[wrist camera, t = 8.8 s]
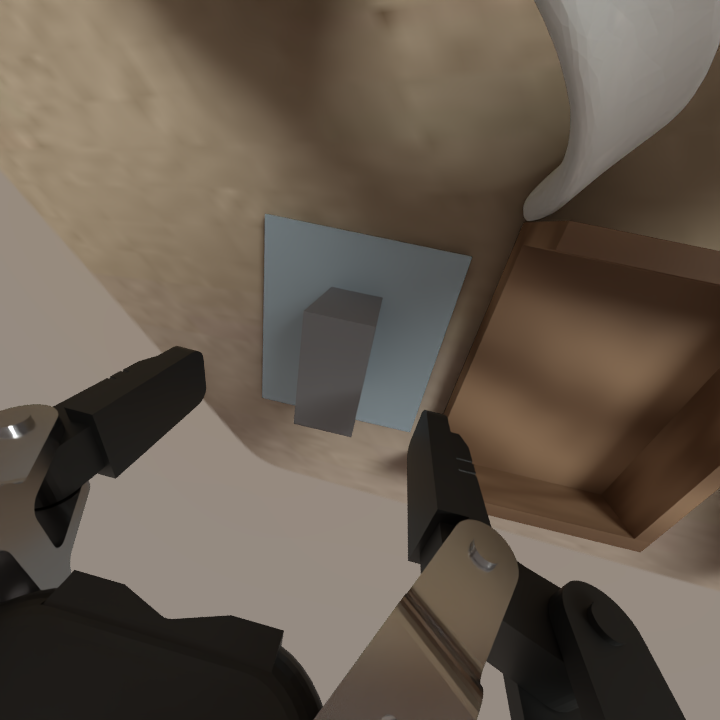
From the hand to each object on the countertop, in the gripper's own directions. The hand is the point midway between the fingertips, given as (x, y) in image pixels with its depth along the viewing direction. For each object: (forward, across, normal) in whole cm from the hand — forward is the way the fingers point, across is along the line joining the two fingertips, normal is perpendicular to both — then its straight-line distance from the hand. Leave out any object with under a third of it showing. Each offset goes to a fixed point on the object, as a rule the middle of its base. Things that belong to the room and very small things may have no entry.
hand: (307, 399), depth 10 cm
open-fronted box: (+8, -13, +1) cm, 15 cm away
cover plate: (+9, 0, +1) cm, 9 cm away
